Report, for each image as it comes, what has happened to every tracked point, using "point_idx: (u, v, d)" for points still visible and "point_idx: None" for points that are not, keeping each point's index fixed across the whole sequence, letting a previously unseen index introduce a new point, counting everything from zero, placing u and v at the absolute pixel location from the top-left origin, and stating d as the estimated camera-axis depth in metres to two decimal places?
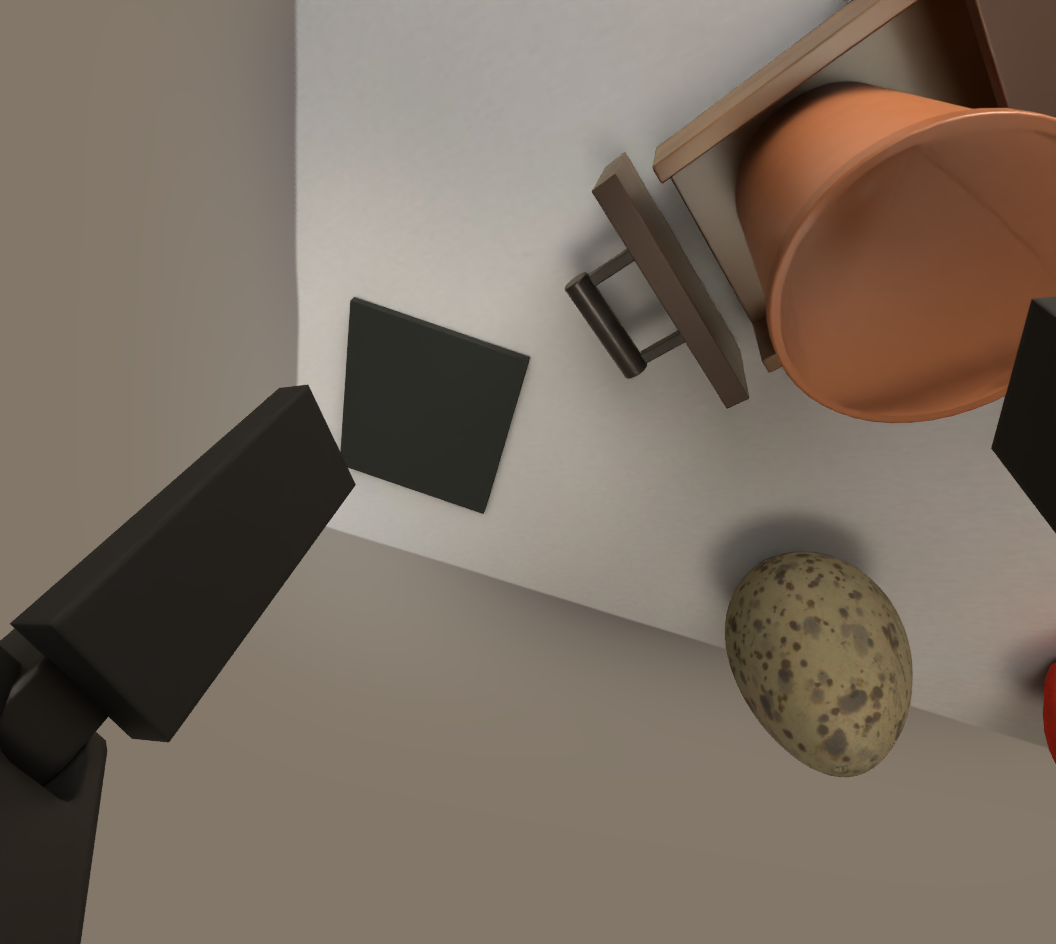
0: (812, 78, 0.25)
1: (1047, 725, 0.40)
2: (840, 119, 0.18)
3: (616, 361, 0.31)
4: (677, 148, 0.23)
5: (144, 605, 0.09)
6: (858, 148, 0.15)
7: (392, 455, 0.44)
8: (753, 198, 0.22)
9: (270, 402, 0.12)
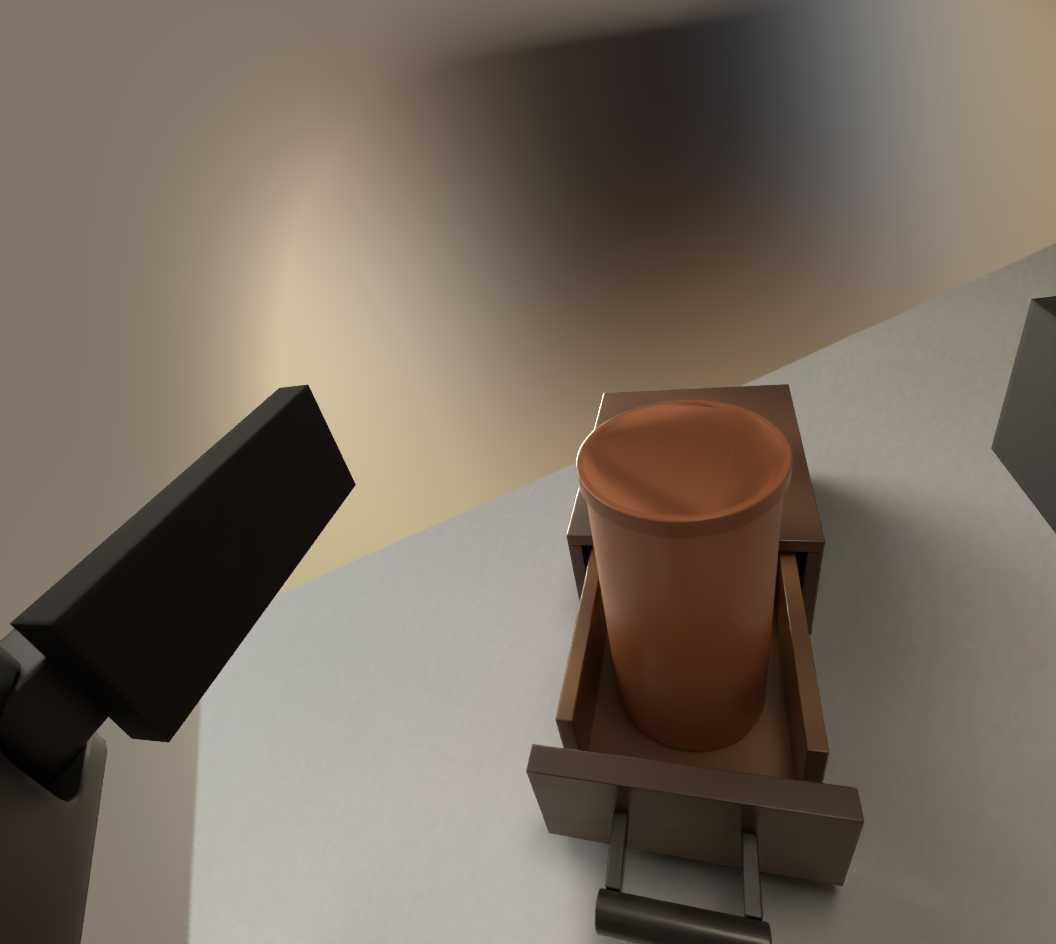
0: None
1: None
2: None
3: None
4: (560, 697, 0.27)
5: (144, 605, 0.09)
6: None
7: None
8: (622, 643, 0.26)
9: (270, 402, 0.12)
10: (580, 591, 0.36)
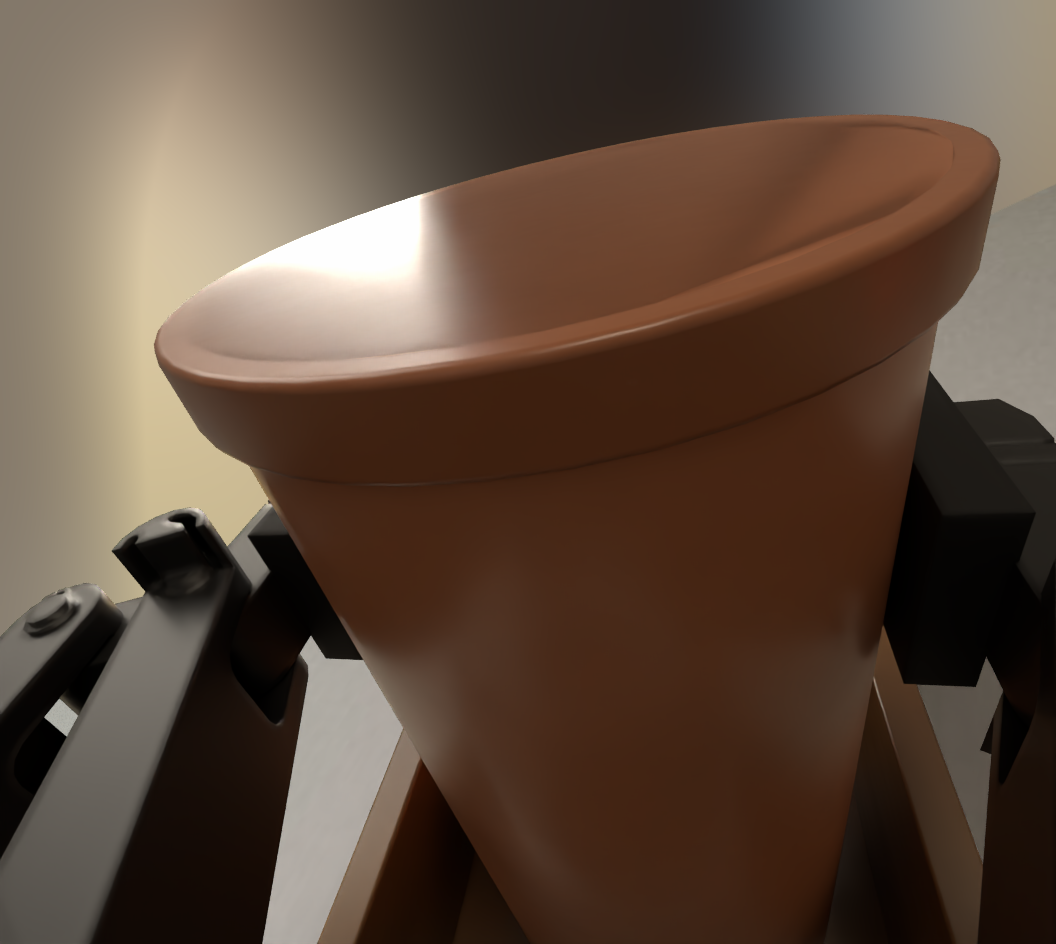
0: None
1: None
2: None
3: None
4: None
5: None
6: None
7: None
8: None
9: None
10: None
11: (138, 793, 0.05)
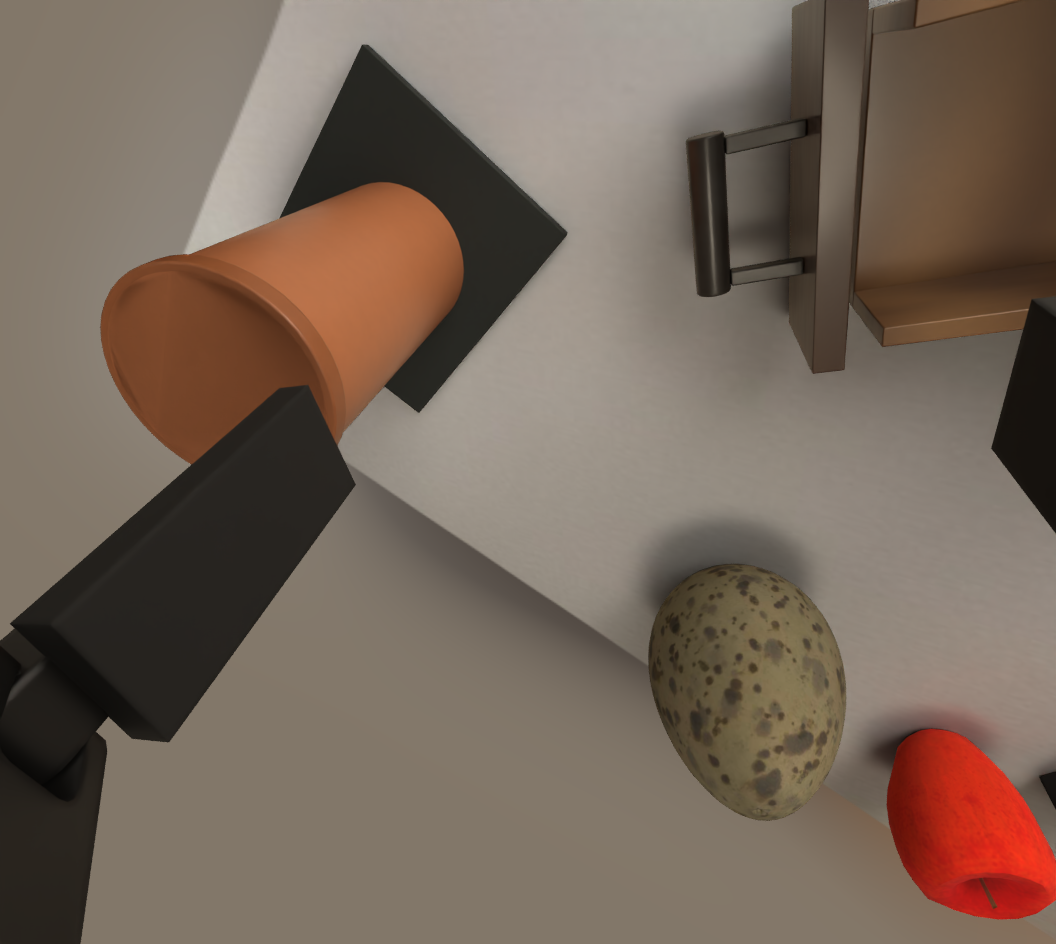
0: None
1: (895, 793, 0.41)
2: (277, 221, 0.21)
3: (700, 268, 0.24)
4: None
5: (144, 605, 0.09)
6: (192, 254, 0.18)
7: None
8: None
9: (269, 402, 0.12)
10: None
11: None
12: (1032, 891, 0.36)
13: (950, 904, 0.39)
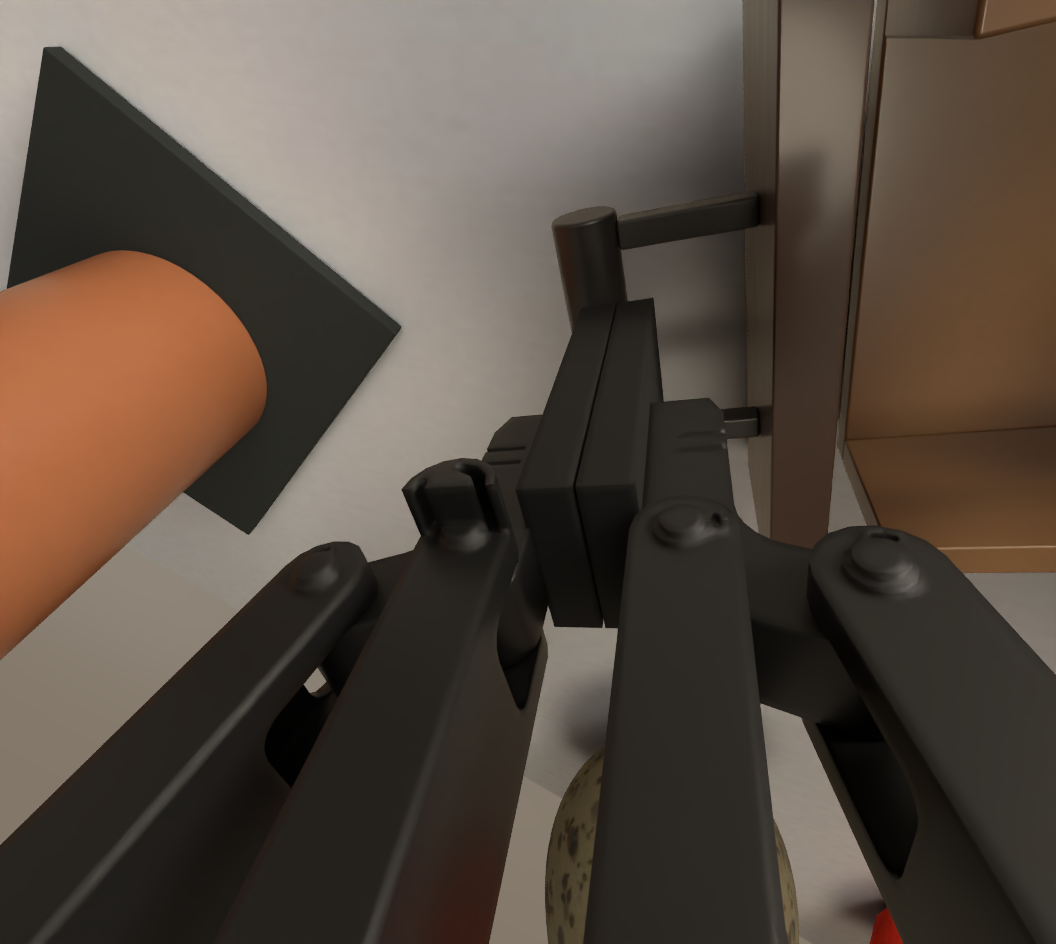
0: None
1: None
2: None
3: None
4: None
5: None
6: None
7: None
8: None
9: (587, 318, 0.12)
10: None
11: (413, 785, 0.05)
12: None
13: None
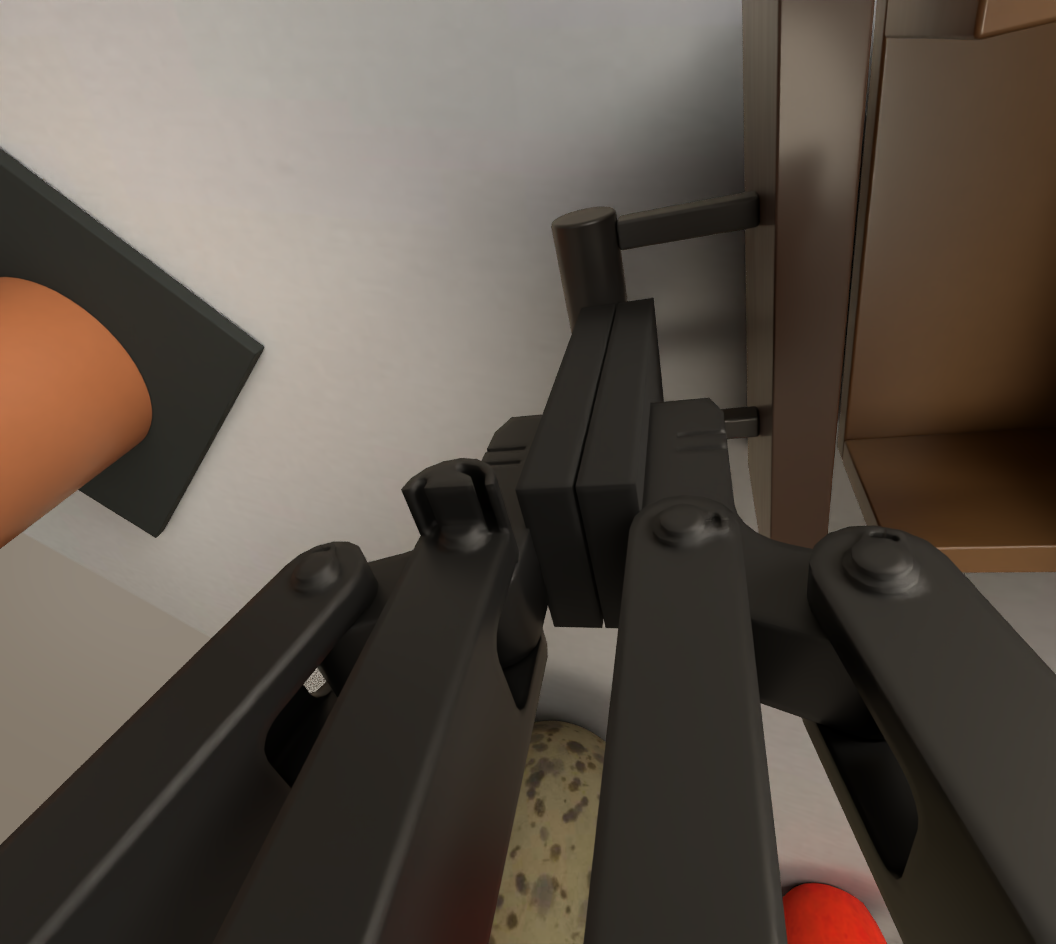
0: None
1: None
2: None
3: None
4: None
5: None
6: None
7: None
8: None
9: (586, 318, 0.12)
10: None
11: (413, 784, 0.05)
12: None
13: None
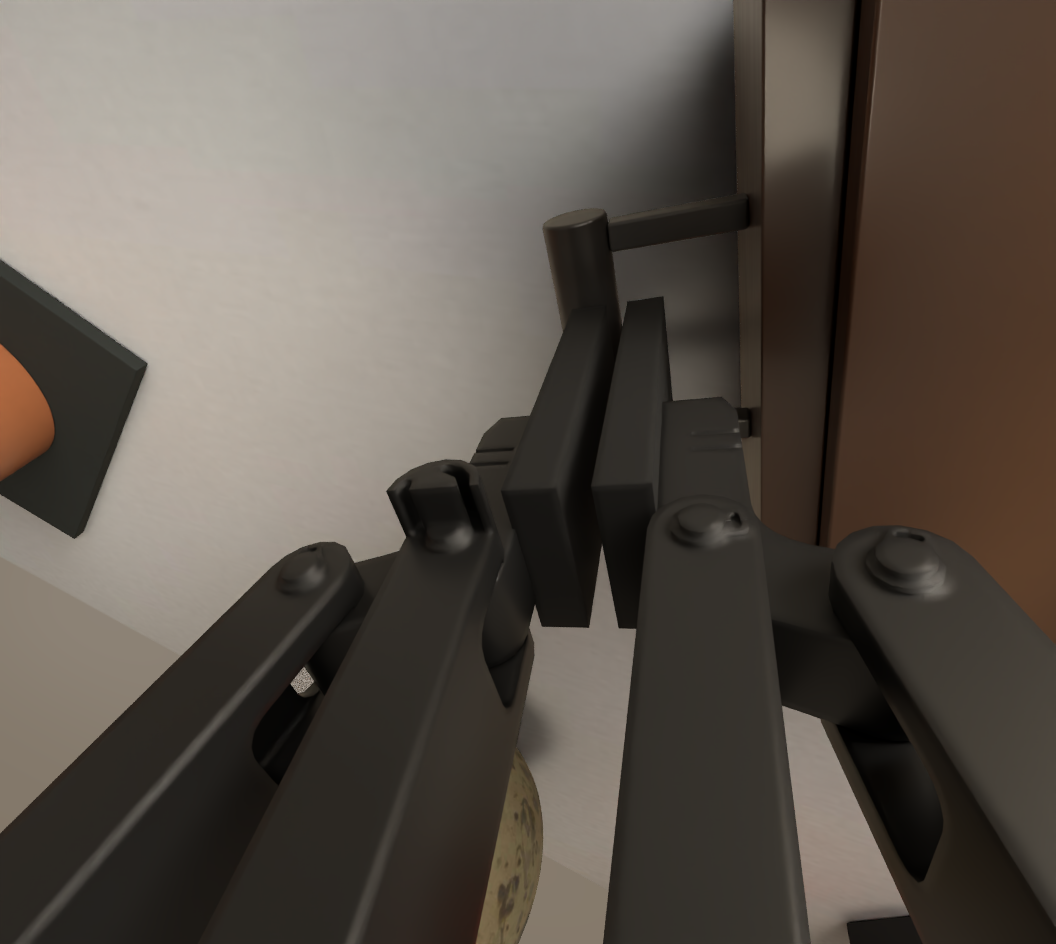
0: None
1: None
2: None
3: None
4: None
5: (577, 488, 0.09)
6: None
7: None
8: None
9: (577, 319, 0.12)
10: None
11: (398, 782, 0.05)
12: None
13: None
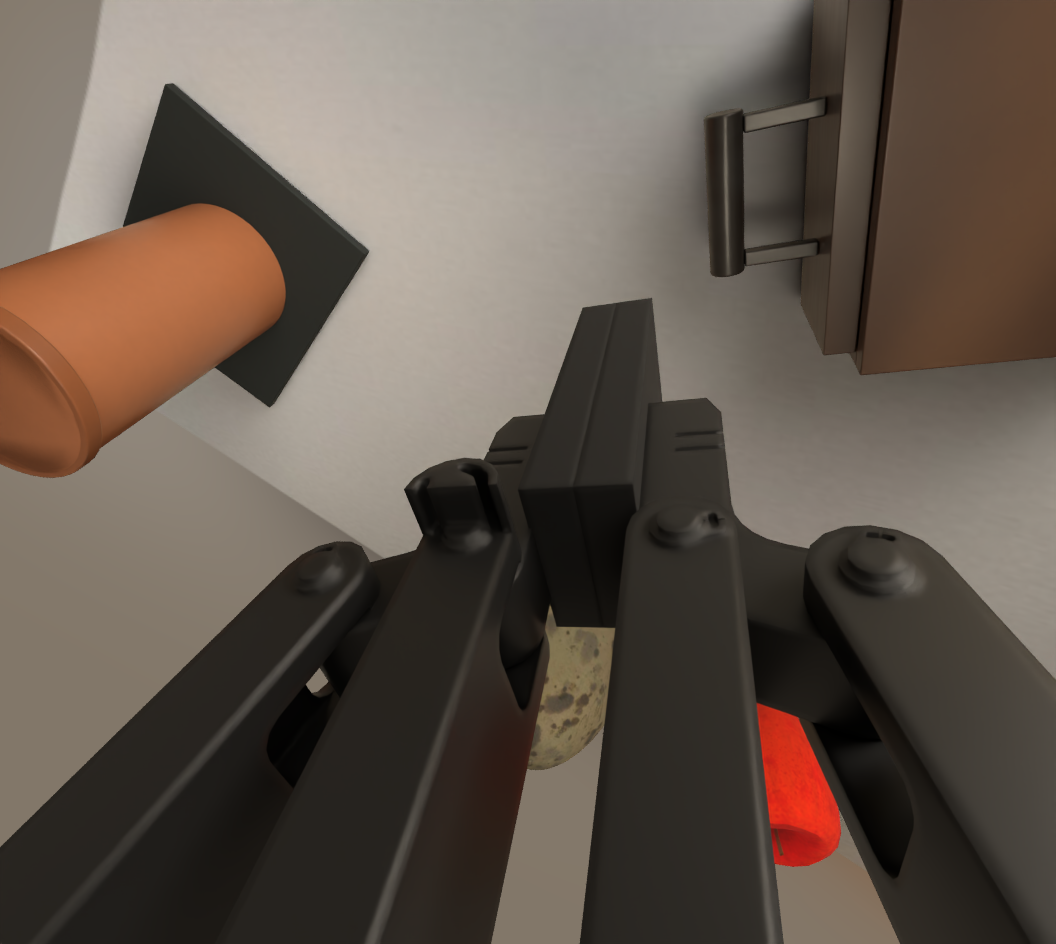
0: None
1: None
2: (61, 249, 0.25)
3: (715, 247, 0.24)
4: None
5: None
6: None
7: None
8: None
9: (588, 318, 0.12)
10: None
11: (416, 785, 0.05)
12: (813, 841, 0.40)
13: None
